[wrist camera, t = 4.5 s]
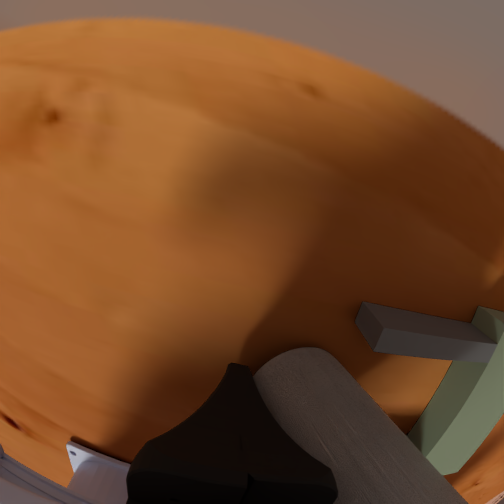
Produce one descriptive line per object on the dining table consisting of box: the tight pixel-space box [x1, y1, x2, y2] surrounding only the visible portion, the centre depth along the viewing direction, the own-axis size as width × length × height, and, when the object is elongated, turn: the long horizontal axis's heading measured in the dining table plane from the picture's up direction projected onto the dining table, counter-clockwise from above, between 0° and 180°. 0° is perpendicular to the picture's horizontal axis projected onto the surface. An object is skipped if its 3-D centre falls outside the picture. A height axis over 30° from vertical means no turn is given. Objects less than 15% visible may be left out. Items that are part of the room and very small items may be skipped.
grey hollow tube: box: [253, 347, 468, 504], centre depth 8 cm, size 4×4×10 cm
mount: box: [355, 301, 504, 476], centre depth 12 cm, size 11×12×2 cm
